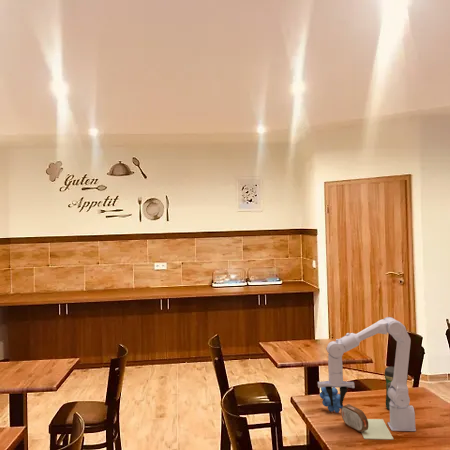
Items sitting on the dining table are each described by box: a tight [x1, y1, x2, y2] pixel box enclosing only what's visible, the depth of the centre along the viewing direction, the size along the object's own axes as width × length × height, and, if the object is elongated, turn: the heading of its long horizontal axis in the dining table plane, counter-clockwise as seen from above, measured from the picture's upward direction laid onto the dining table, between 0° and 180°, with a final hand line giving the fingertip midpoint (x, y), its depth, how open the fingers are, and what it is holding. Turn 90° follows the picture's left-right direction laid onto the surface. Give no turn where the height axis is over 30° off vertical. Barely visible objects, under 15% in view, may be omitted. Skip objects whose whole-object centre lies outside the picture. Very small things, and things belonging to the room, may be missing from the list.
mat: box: [360, 418, 395, 441], centre depth 198 cm, size 11×20×1 cm, turn 174°
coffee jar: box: [384, 366, 409, 411], centre depth 220 cm, size 10×8×19 cm
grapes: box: [319, 387, 344, 414], centre depth 218 cm, size 12×7×12 cm, turn 46°
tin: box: [340, 403, 368, 433], centre depth 199 cm, size 15×3×8 cm, turn 22°
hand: (336, 405), depth 200 cm, fingers open, 3 cm apart
